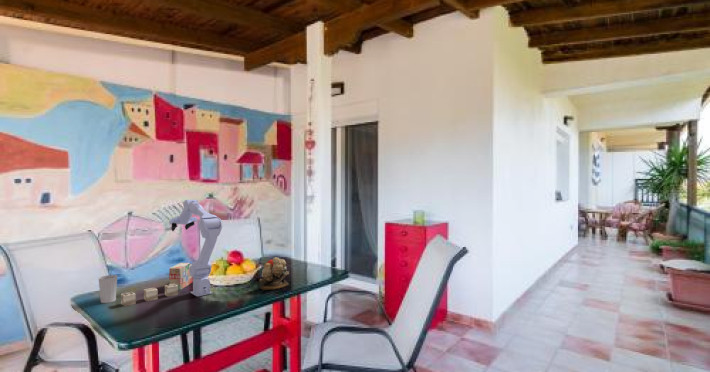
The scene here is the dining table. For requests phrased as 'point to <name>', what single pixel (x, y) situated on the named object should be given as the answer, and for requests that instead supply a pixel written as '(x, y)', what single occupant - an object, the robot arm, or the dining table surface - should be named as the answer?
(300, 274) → the dining table surface
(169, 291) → the dotted block
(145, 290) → the plain block
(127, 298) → the dotted block
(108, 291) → the cup
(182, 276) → the stack of blocks
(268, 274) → the brown lumpy figurine
